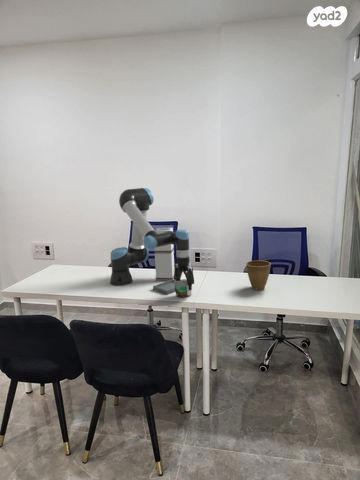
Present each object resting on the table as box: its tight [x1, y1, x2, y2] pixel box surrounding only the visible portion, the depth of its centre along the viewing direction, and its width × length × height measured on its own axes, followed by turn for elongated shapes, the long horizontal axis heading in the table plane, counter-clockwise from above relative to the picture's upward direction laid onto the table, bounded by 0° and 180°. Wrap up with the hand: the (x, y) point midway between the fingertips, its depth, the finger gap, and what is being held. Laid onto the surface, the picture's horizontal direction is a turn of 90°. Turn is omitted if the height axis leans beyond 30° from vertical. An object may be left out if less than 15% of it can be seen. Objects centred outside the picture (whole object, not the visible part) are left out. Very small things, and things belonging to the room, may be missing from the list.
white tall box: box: [153, 227, 175, 282], centre depth 237 cm, size 11×11×35 cm
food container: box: [173, 278, 193, 298], centre depth 204 cm, size 12×6×10 cm, turn 104°
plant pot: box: [245, 260, 272, 291], centre depth 213 cm, size 15×15×16 cm
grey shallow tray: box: [152, 279, 176, 296], centre depth 220 cm, size 14×18×2 cm
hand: (184, 293), depth 205 cm, fingers closed on food container, 8 cm apart
